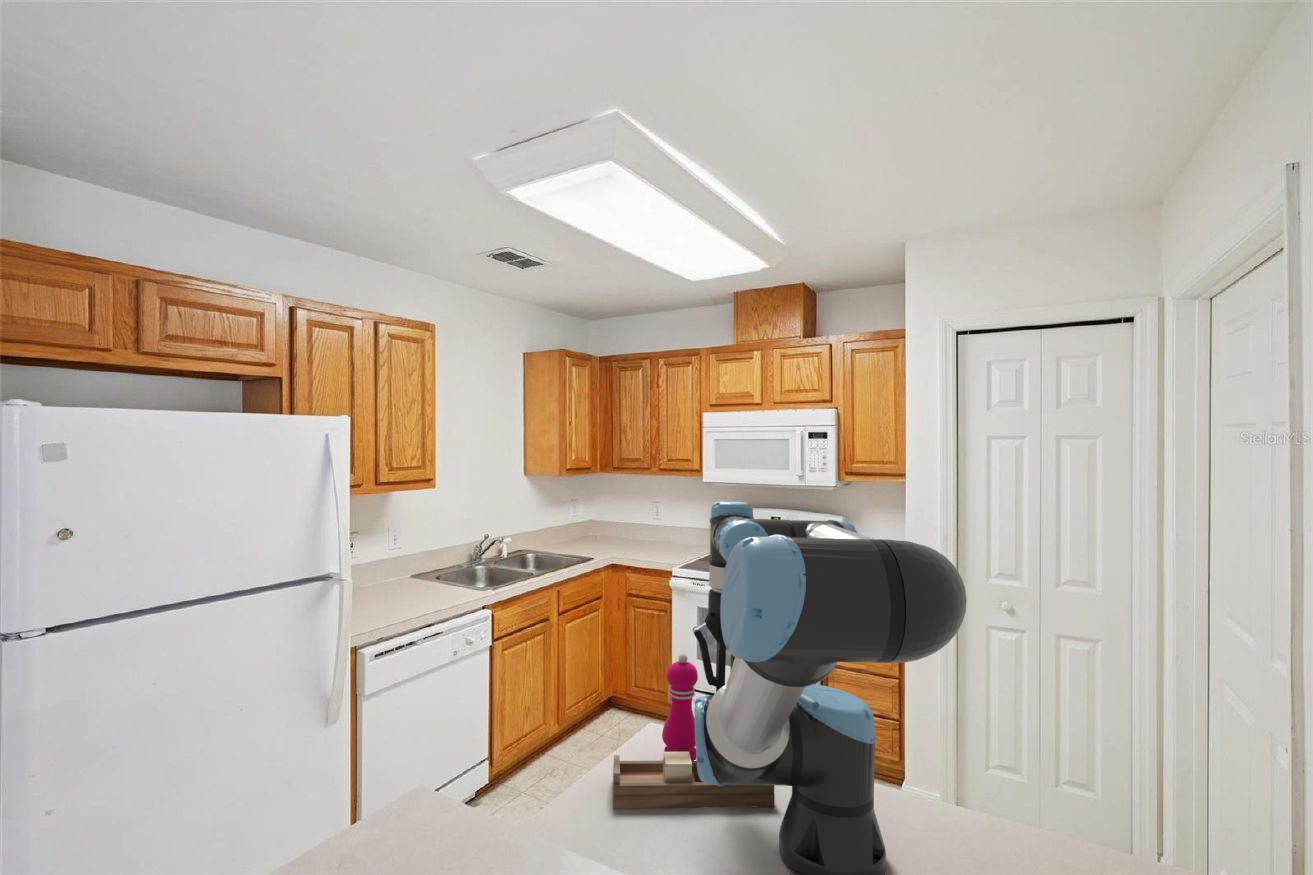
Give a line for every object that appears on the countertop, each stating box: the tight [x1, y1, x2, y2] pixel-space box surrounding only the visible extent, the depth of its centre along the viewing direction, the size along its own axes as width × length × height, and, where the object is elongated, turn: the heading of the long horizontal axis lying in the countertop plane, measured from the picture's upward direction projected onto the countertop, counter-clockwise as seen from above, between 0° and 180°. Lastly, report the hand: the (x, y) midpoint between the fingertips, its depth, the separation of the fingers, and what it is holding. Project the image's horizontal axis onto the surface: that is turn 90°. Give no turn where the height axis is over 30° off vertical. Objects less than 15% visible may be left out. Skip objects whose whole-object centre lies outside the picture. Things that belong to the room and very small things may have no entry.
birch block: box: [662, 751, 692, 782], centre depth 106 cm, size 4×4×4 cm
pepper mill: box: [661, 653, 699, 761], centre depth 119 cm, size 7×7×20 cm
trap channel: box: [612, 754, 776, 809], centre depth 106 cm, size 9×27×5 cm, turn 94°
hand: (726, 724), depth 107 cm, fingers closed
